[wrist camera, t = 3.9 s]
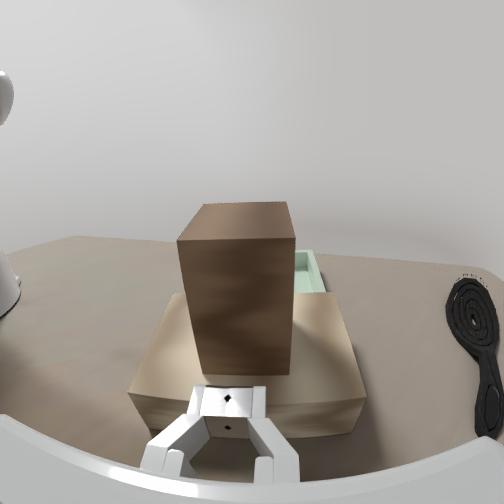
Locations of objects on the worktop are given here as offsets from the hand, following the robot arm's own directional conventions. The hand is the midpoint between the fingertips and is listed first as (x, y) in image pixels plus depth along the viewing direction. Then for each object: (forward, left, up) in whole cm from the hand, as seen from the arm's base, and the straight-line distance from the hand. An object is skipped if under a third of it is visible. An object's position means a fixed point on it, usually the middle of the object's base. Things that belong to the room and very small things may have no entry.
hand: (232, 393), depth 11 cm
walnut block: (0, +9, -5) cm, 11 cm away
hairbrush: (+25, +10, -11) cm, 29 cm away
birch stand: (0, +10, -10) cm, 14 cm away
